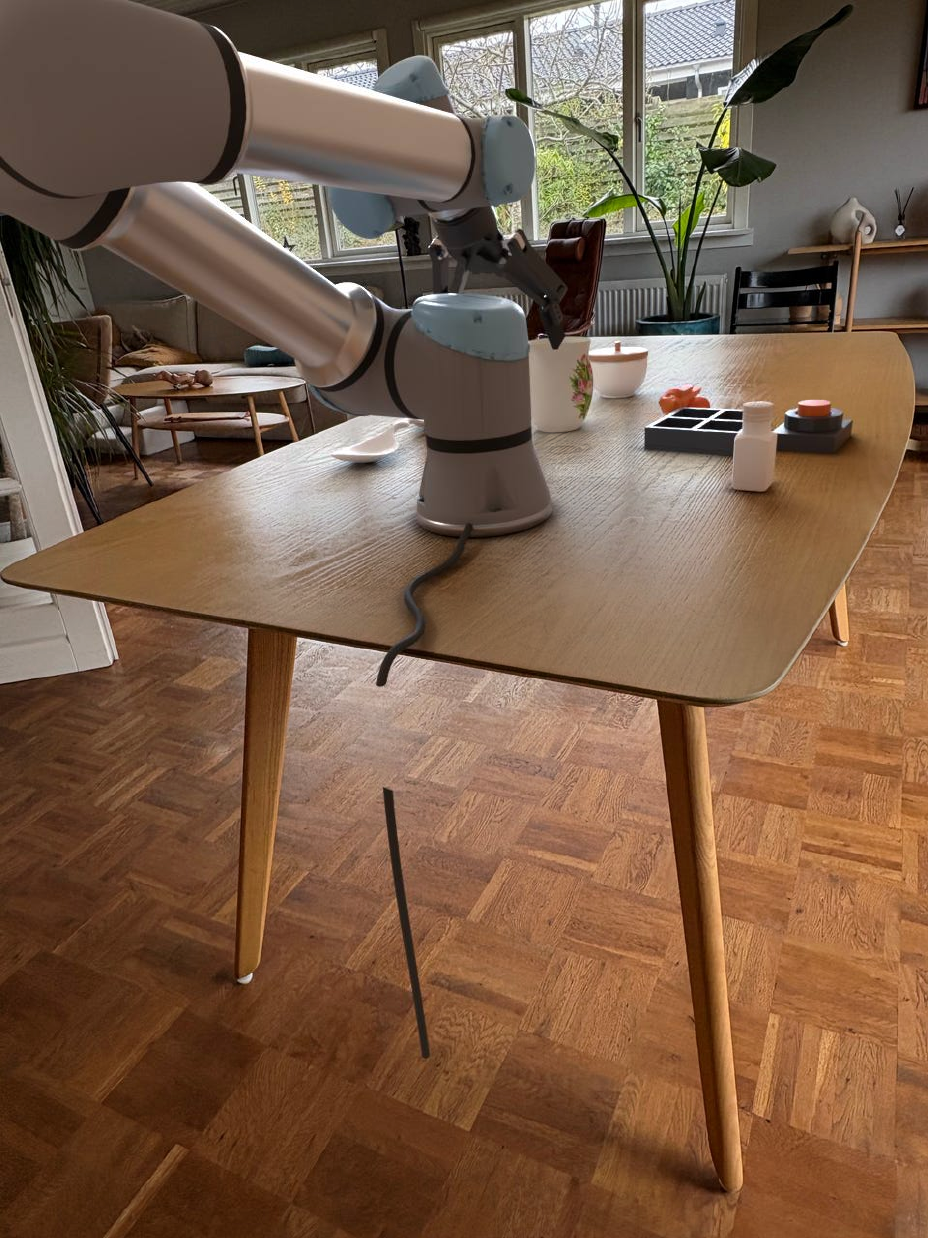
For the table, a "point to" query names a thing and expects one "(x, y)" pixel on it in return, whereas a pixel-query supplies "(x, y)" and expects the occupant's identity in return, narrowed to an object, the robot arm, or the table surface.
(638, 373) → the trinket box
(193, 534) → the table surface
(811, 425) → the control block
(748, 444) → the pepper shaker
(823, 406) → the button
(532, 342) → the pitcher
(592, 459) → the table surface
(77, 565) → the table surface
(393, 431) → the spoon
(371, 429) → the table surface
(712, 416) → the rack
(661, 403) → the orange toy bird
